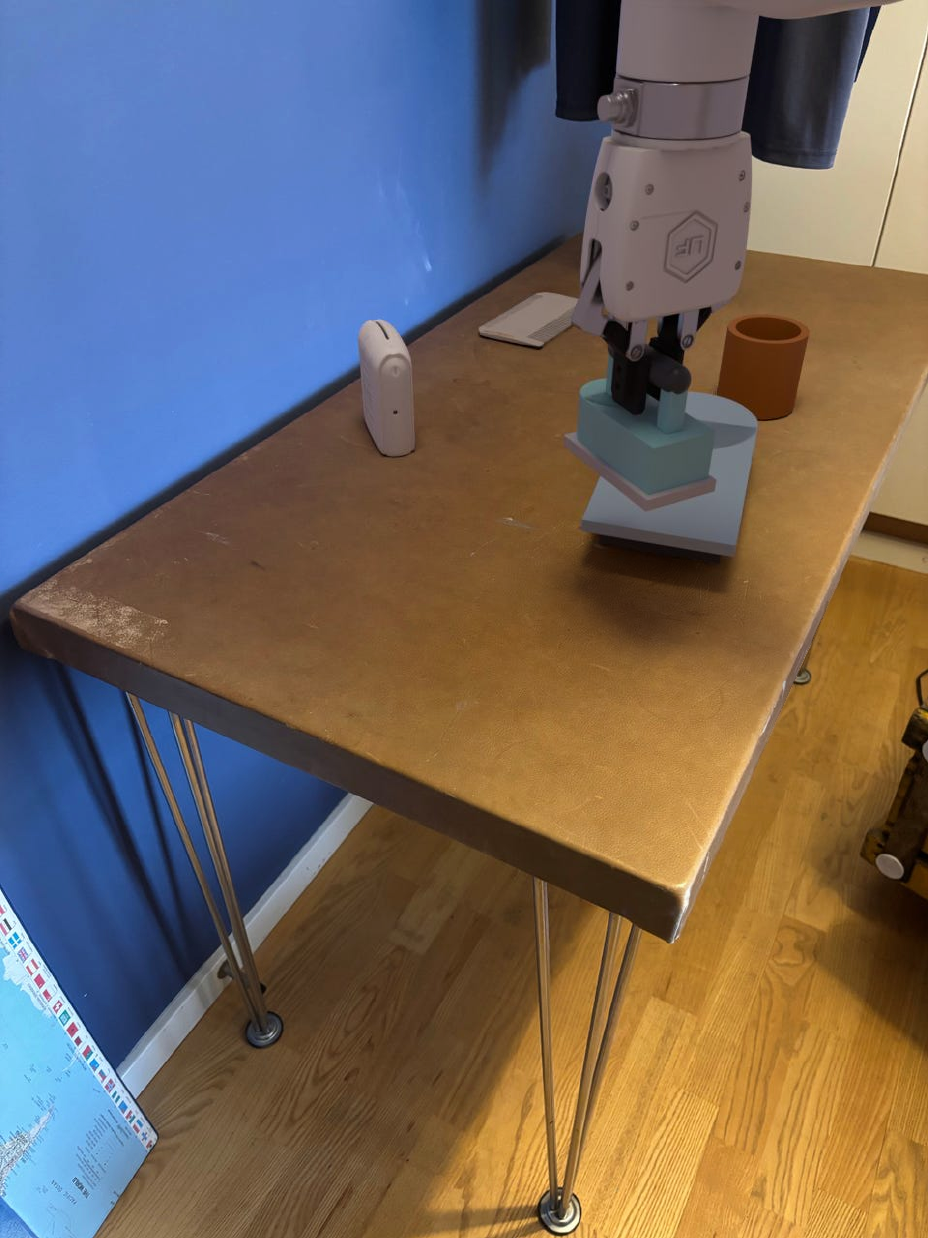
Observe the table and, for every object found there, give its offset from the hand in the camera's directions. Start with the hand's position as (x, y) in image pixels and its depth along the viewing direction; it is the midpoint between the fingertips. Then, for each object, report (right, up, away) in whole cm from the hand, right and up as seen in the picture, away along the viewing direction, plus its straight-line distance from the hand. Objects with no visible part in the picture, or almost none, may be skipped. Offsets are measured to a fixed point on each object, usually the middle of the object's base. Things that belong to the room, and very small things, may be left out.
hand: (643, 401), depth 65 cm
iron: (0, -4, +3) cm, 5 cm away
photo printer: (-21, +5, +37) cm, 42 cm away
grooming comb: (-2, +26, +63) cm, 68 cm away
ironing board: (+8, -4, +26) cm, 27 cm away
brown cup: (+22, +10, +43) cm, 50 cm away
